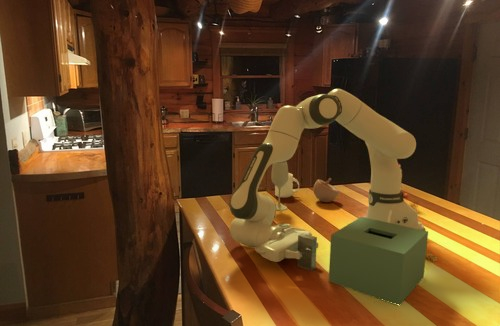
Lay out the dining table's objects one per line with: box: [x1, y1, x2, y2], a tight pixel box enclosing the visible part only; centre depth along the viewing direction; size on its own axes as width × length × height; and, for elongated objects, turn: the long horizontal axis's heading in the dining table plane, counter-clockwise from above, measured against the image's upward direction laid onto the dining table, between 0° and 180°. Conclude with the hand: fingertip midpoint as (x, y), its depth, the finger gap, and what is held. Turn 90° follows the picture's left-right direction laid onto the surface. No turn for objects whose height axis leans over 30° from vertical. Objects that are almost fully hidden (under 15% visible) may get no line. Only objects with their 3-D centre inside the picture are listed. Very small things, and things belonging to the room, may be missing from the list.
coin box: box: [328, 216, 429, 306], centre depth 114 cm, size 20×20×14 cm
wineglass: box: [270, 161, 289, 211], centre depth 179 cm, size 8×8×21 cm
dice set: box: [426, 252, 437, 262], centre depth 130 cm, size 5×5×2 cm
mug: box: [274, 172, 300, 199], centre depth 199 cm, size 9×12×11 cm
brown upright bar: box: [296, 233, 318, 272], centre depth 122 cm, size 5×2×10 cm, turn 51°
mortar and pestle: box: [312, 177, 340, 203], centre depth 190 cm, size 12×12×12 cm
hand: (309, 251), depth 121 cm, fingers open, 8 cm apart
